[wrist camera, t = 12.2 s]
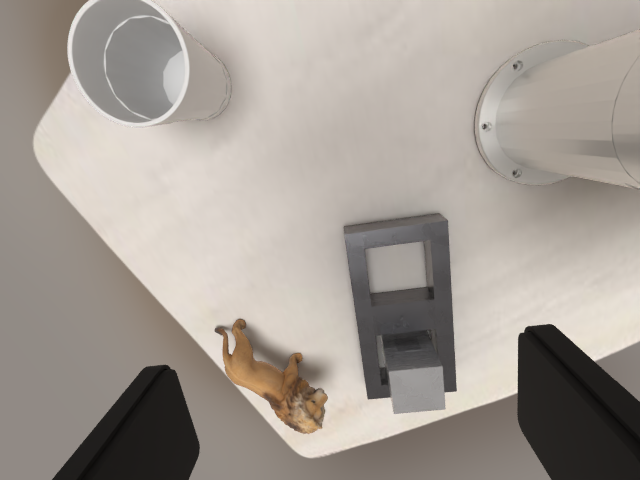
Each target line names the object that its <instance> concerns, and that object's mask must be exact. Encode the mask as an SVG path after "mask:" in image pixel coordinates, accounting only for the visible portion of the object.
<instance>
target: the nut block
mask: <svg viewBox="0 0 640 480" xmlns="http://www.w3.org/2000/svg"><path fill="white" fill-rule="evenodd" d="M381 343H382V351H383V359H384V366H385V371H386V376H387V381H388V386H389V391H390V396H391V401H392V406H393V411H394V414H398V413H410V412H421V411H432V410H443V409H445V395H444V380H443V366H442V364H441V362H440V359H439V357H438V355H437V353H436V350H435V348H434V346H433V344H432V341H431V339H430V337H429V335H428V332H427V330H423V331H413V332H404V333H395V334H386V335H381Z"/></svg>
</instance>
